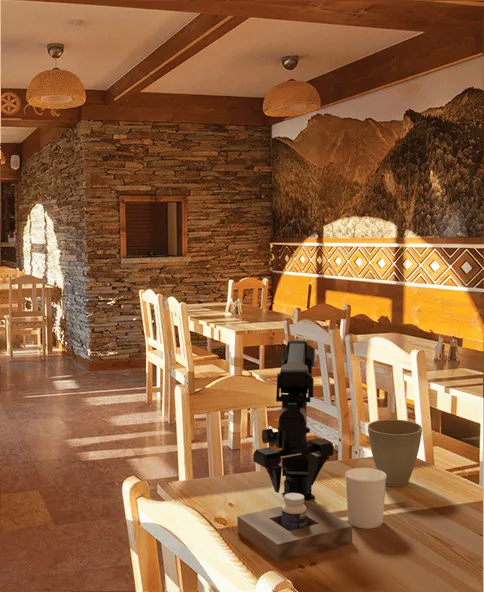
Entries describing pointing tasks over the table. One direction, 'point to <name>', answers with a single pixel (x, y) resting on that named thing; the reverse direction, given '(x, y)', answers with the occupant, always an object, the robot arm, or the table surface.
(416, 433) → the plant pot
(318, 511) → the well block
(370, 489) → the candle holder
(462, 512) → the table surface
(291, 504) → the pill bottle
